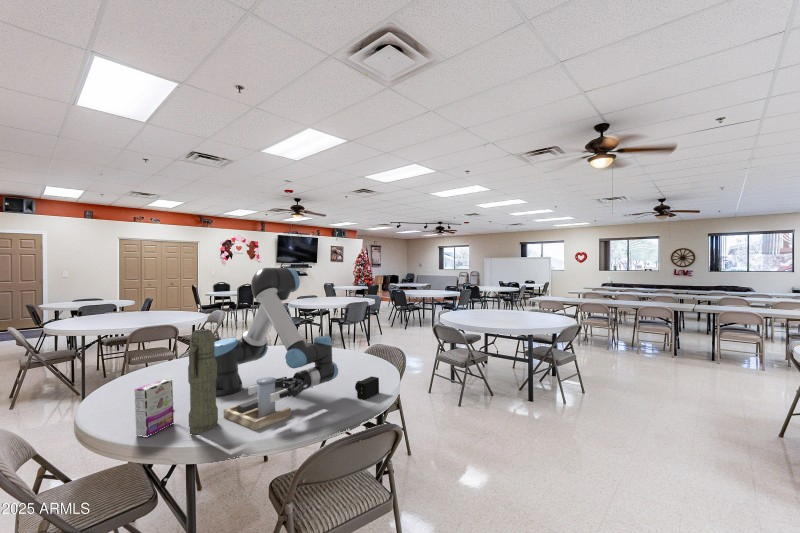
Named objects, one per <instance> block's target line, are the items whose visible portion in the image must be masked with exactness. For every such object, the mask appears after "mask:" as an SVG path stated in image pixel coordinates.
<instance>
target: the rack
mask: <svg viewBox="0 0 800 533" xmlns="http://www.w3.org/2000/svg"><path fill="white" fill-rule="evenodd" d="M257 398H258V397H256V398H253V399H251V400H248V401H245V402H242V403H239V404H236V405H234V406H233V405H232V406H230V407H227V408H224V409H223V418H225V419H226V420H229V421H231V422H234V423H236V424H239V425H241V426H244V427H246V428H248V429H251V430H253V431H259V430H260V429H263V428H265V427H267V426H270V425H272V424H275V423H277V422H280V421H281V420H284V419H287V418H290V417H291V416H292V409H291V407H285V408H283V409H280V410H278V411H277V410H275V413H272V414H270V415H267V416H265V417H262V418H260V419H257V417H258V408H256V409H253V410H250V411H248V412H245V413H242V414H241V413H238V405H240V404H243V403H246V402H249V401H252V400H254V399H257Z"/></svg>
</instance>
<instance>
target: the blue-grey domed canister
mask: <svg viewBox="0 0 800 533" xmlns="http://www.w3.org/2000/svg"><path fill="white" fill-rule="evenodd" d="M276 379H277V378H276V377H272V376H271V377H270V376H269V377H268V376H267V377H262V378H258V379H257V380H256V382H255V383H256V385H258V393H257V398H258V417H257V419H260V418H262V417H265V416H267V415H270V414H272V413H275V411H276V401H274V402H270V394H272V393H275V392H276V388H275V382H276Z"/></svg>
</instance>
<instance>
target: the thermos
mask: <svg viewBox="0 0 800 533" xmlns="http://www.w3.org/2000/svg"><path fill="white" fill-rule="evenodd" d="M215 342H216V341H215V336H214V332H213V331H212V330H211V329H210V328H209V329H207V328H204V329H196V330H194V331H192V333H191V335H190V338H189V351H188V366H187V377H188V378H187V380H188V381H187V382H188V384H189V396H190V397H189V400H190V401H189V404H190V407H189V408H190V410H189V412H188V427H189V432H190V433H189V435H190V434H192V435H200V433H204V432H208V431H210V430H212V429H215V428H216V427H217V426H218V421H219V411H218V410H219V408H218V406H217V396H216V379H217V362H216V360H215V354H214V351H215ZM192 435H191V436H192Z"/></svg>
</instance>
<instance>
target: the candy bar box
mask: <svg viewBox="0 0 800 533" xmlns="http://www.w3.org/2000/svg"><path fill="white" fill-rule="evenodd" d="M134 406H135V431H136V432H135V435H142V436H148V435H150V434H153V433H155V432H157V431H159V430H160V429H162V428H164V427H166V426H168V425H170V424H172V423H175V422H174V420H175V419H174V392H173V379H164V378H163V379H160V380H157V381H154V382H151V383H148V384H146V385H143V386H140V387H138V388H136V389H134ZM172 425H173V424H172ZM170 426H171V425H170ZM159 432H160V431H159ZM157 433H158V432H157ZM155 434H156V433H155Z"/></svg>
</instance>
